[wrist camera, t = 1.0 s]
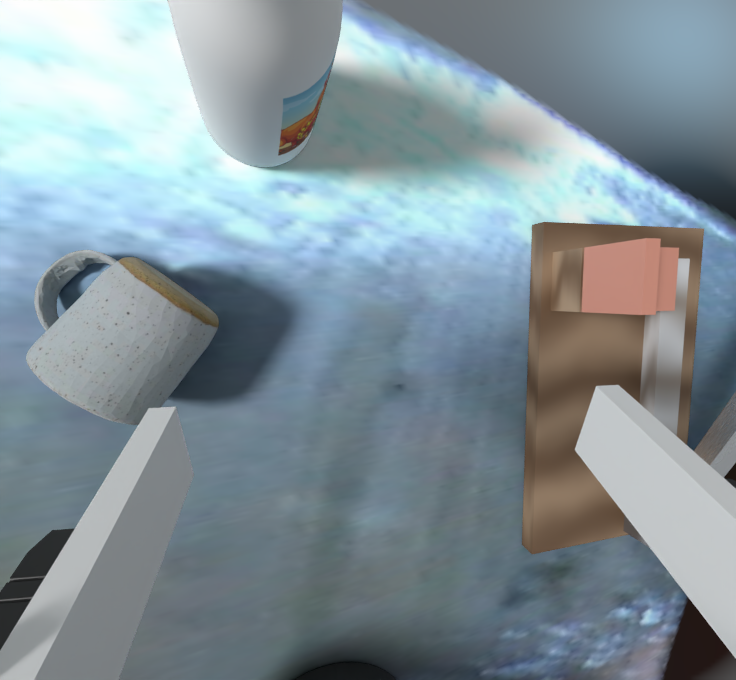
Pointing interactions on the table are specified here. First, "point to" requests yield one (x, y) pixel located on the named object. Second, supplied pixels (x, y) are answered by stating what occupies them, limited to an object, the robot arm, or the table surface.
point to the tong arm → (720, 440)
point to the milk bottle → (258, 70)
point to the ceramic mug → (117, 336)
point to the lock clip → (630, 278)
